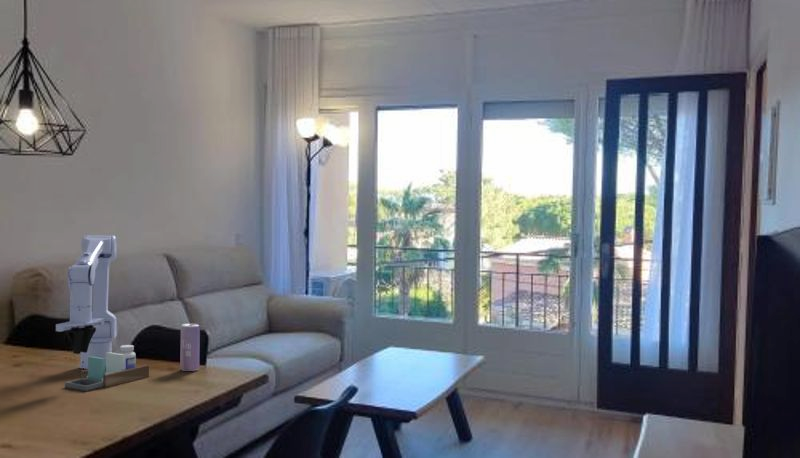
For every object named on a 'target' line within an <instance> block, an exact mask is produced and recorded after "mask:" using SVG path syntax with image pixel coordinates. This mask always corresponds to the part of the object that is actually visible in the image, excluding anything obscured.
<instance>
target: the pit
mask: <svg viewBox="0 0 800 458" xmlns="http://www.w3.org/2000/svg"><path fill="white" fill-rule="evenodd" d="M64 388H65V389H71V390H75V391H81V392H84V393H85V392H90V391H95V390H98V389H103V388H105V387H104V382H101V381H95V380H90V379H85V378H82V379H81V378H77V379H74V380H73V379H72V380H70V381H65V382H64Z"/></svg>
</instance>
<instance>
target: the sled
mask: <svg viewBox="0 0 800 458" xmlns="http://www.w3.org/2000/svg"><path fill="white" fill-rule="evenodd" d="M119 353H120V352H118V353H117V352H107V353H106V372H105V358H100V357H94V356H90V357H88V369H87V370H88V376H86V379H90V380H95V381H101V382H103V375H106V374H110V373H115V372H119V371H123V370H126V355H125V354H119Z"/></svg>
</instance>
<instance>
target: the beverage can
mask: <svg viewBox="0 0 800 458" xmlns="http://www.w3.org/2000/svg"><path fill="white" fill-rule="evenodd" d="M200 337H201V328H200V324H199V323H183V324H181V327H180V352H179V353H180V356H179V357H180V359H179V360H180V363H179V364H180V365H179V366H180V367H179V369H180V371H181V370H182V372H183V371H194V372H196V371H195V370H197V371H198V370H199V368H200V349H201V348H200V345H201V344H200V342H201V341H200V340H201V339H200Z"/></svg>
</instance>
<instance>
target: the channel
mask: <svg viewBox="0 0 800 458" xmlns="http://www.w3.org/2000/svg"><path fill="white" fill-rule="evenodd" d="M105 372H106V366H105ZM86 376H88V369H84V370H80V379H82V378H85V379H86ZM147 376H149V377H150V365H148V364H144V365H141V366H135V368H131V369H127V370H123V371H119V372H115V373H110V374H106V375H103V382H104V387H103V388H111V387H113V386H118V385H121V384H125V383H129V382H133V381H137V380H141V379H144V377H145V378H148V377H147ZM140 378H141V379H140Z"/></svg>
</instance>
